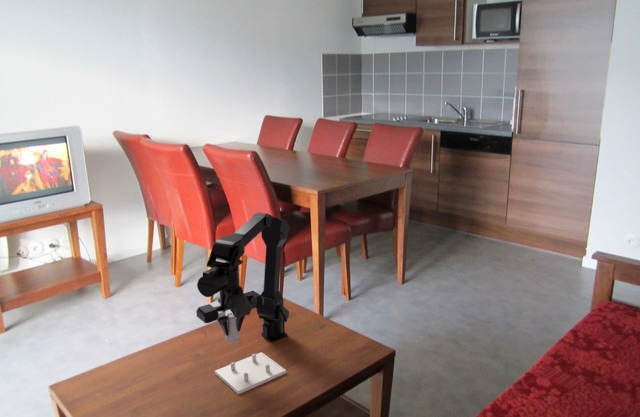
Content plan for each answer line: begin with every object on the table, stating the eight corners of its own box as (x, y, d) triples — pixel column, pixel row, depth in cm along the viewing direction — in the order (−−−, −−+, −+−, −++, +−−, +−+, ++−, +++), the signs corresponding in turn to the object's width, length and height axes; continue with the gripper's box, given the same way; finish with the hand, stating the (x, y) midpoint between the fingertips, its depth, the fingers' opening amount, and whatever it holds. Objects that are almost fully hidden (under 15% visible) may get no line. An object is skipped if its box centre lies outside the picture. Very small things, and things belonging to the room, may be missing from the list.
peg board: (261, 355, 167) (261, 346, 166) (286, 373, 157) (285, 364, 156) (215, 373, 157) (214, 364, 156) (238, 394, 147) (237, 384, 146)
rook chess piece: (221, 340, 156) (220, 315, 154) (234, 334, 159) (232, 309, 157) (231, 345, 153) (229, 319, 151) (243, 339, 156) (242, 314, 154)
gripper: (212, 302, 140) (216, 355, 144) (273, 283, 151) (275, 333, 155) (193, 288, 148) (197, 339, 153) (252, 271, 159) (254, 319, 164)
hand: (232, 333), depth 156 cm, fingers closed on rook chess piece, 3 cm apart
